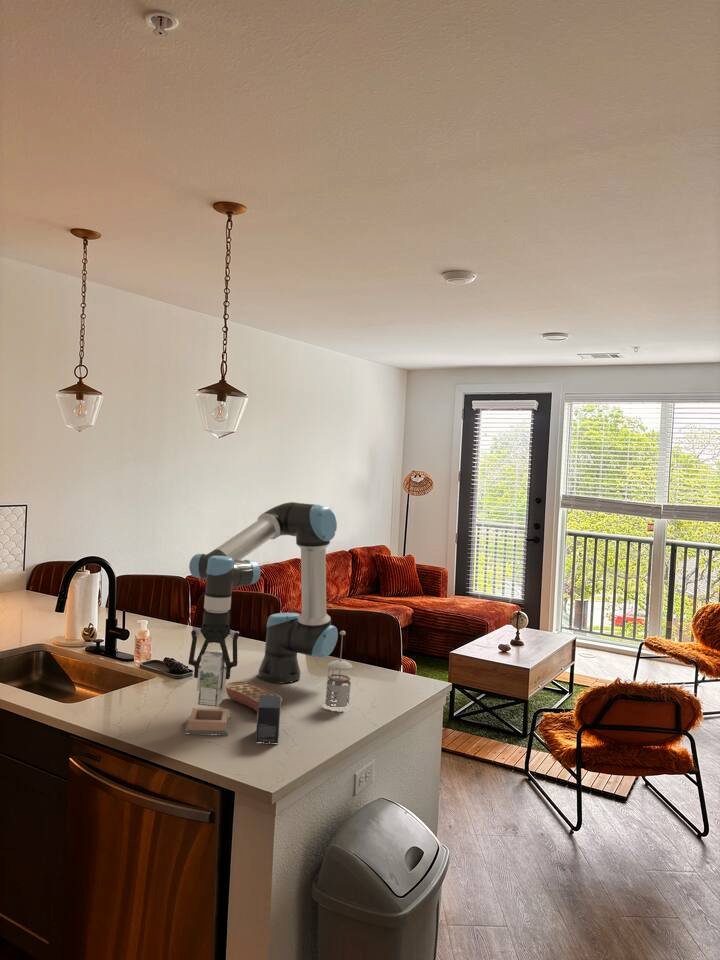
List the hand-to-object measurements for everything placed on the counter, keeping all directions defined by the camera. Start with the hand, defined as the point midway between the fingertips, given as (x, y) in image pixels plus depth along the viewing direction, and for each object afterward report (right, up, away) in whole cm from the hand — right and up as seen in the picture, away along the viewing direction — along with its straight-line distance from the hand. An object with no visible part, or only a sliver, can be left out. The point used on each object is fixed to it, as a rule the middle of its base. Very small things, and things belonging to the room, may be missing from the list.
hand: (211, 689), depth 208 cm
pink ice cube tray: (+9, -12, +20) cm, 25 cm away
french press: (+35, -13, +27) cm, 46 cm away
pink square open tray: (-1, -11, 0) cm, 11 cm away
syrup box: (0, -4, 0) cm, 4 cm away
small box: (+17, -13, -4) cm, 21 cm away
